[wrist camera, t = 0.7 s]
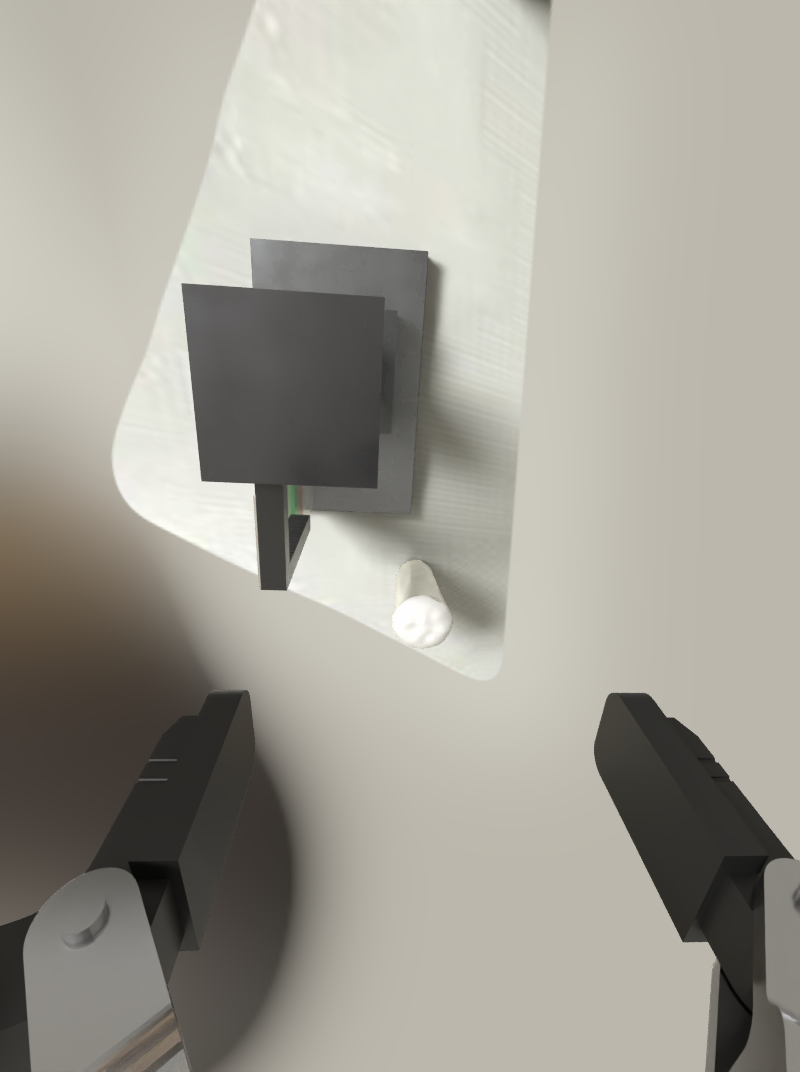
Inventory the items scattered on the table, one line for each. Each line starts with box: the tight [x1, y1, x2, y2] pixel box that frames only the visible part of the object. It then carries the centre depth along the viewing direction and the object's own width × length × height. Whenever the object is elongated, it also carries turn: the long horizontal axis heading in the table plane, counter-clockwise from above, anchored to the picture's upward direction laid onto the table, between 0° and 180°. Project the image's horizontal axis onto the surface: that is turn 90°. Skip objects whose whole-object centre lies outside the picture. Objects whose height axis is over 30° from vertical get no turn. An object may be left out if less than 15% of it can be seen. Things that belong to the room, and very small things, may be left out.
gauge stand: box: [250, 238, 428, 587], centre depth 29 cm, size 19×12×16 cm, turn 177°
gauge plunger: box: [182, 283, 385, 590], centre depth 21 cm, size 10×6×12 cm, turn 177°
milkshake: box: [392, 560, 452, 649], centre depth 38 cm, size 4×5×10 cm
